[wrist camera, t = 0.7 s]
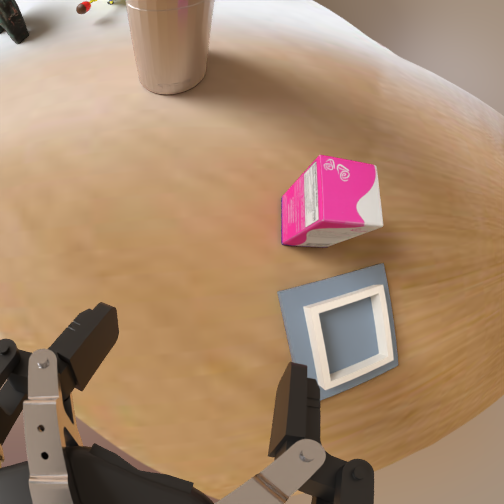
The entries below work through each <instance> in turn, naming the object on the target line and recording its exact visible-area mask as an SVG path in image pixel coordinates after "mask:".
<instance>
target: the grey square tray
mask: <svg viewBox="0 0 504 504" xmlns="http://www.w3.org/2000/svg"><path fill="white" fill-rule="evenodd" d="M277 293H278V297H279V302H280V307H281V311H282V316H283V320H284V325H285V330H286V334H287V339H288V344H289V348H290V353H291V358H292V362H294V363H298V364H303V365H307V378H312V379H316V381H317V384H318V386H319V388H320V401H321V400H323V399H326V398H328V397H331V396H333V395H336V394H338V393H341V392H343V391H345V390H348V389H350V388H352V387H355V386H357V385H359V384H361V383H364V382H366V381H368V380H370V379H372V378H374V377H376V376H378V375H380V374H382V373H384V372H386V371H388V370H390V369H392V368H394V367H396V366H398V355H397V345H396V337H395V328H394V321H393V314H392V307H391V301H390V295H389V289H388V283H387V278H386V273H385V268H384V263H381V264H376V265H373V266H370V267H366V268H363V269H359V270H356V271H352V272H349V273H345V274H342V275H338V276H335V277H331V278H327V279H324V280H320V281H316V282H313V283H309V284H305V285H301V286H297V287H294V288H290V289H286V290H282V291H278V292H277Z"/></svg>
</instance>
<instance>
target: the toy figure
mask: <svg viewBox="0 0 504 504" xmlns="http://www.w3.org/2000/svg"><path fill="white" fill-rule="evenodd" d="M93 1H94V2H95V1H97V0H91V1H90V2H87V1H86V2H82V3H81V4H79V5H78V6H77V9H76V11H77V13H79V14H84V13H86V12H87V11H88V10H89V9H90V7H91V4H90V3H92V2H93ZM107 3H108V4H113V3H114V2H113V0H109V2H107Z"/></svg>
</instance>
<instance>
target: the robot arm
mask: <svg viewBox="0 0 504 504" xmlns="http://www.w3.org/2000/svg"><path fill="white" fill-rule="evenodd" d="M125 1H126V7H127V13H128V20H129V26H130V32H131V38H132V43H133V49H134V54H135V59H136V65H137V69H138V74H139V79H140V82H141V84H142V85H143V86H144V87H145V88H146V89H148V90H149V91H152V92H154V93H158V94H176V93H181V92H184V91H186V90H189V89H191V88H193V87H194V86H196V85H197V84H198V83H199V82H200V81H201V80H202V79H203V77H204V75H205V73H206V64H207V55H208V47H209V38H210V30H211V22H212V15H213V7H214V0H125ZM118 335H119V328H118V319H117V310H116V308H115V307H112V306H110V305H107V304H105V303H102V302H100V303H99V304H98V305H97V306H96V307H95V308H94V309H93V310H91V309H87V310H86V311H84V312H82V313H80V314H79V315H78V316H77V317H76V318H75V319H74V320H73V322H72V323H71V324H70V325H69V326H68V328H66V329H65V330H64V331H63V333H62V334H61V335H60V336H59V337H58V338H57V339H56V341H55V342H54V343H53V344H52V345H51V346H50V347H49V348H48V349H39V350H36V351H35V352H33V353H30V352H26V351H22V350H19V349H18V348H17V346H16V344H15V343H14V341H12V340H10V339H2V340H0V388H1V387H2V385H3V384H4V382H5V381H6V379H7V382H6V383H5V384H4V386H3V387H2V389H1V390H0V504H214V503H213V502H212V501H211V500H210V499H209V498H208V497H207V496H206V495H205V494H204V493H202V492H201V491H199V490H197V489H196V488H194V487H193V483H192V482H189V481H186V480H182V479H179V478H176V477H173V476H170V475H166V474H158V473H151V472H145V471H140V470H137V469H136V468H135V467H133V466H132V465H130V464H129V463H128V462H126V461H125V460H124V459H122V458H121V457H120V456H118V455H117V454H115V453H113V452H111V451H109V450H107V449H104V448H103V447H101V446H99V445H97V444H93V446H92V447H86V446H83V443H82V440H81V437H80V435H79V432H78V429H77V425H76V418H75V412H74V405H73V398H72V393H71V392H72V391H73V389H74V388H77V389H78V390H80V391H83V390H84V388H85V386H86V385H87V383H88V382H89V380H90V379H91V378H92V376H93V375H94V373H95V372H96V370H97V369H98V367H99V366H100V364H101V363H102V361H103V360H104V358H105V357H106V356H107V354H108V353H109V351H110V350H111V348H112V347H113V346H114V344H115V343H116V341H117V338H118ZM22 410H23V417H24V431H25V443H26V451H27V458H28V461H25V462H22V463H18V464H15V465H11V466H7V467H3V468H2V467H1V463H3V462H4V455H3V449H2V445H3V443H4V441H5V439H6V437H7V435H8V434H9V432H10V430H11V428H12V426H13V425H14V423H15V421H16V420H17V418H18V416H19V415H20V413H21V411H22ZM268 456H269V457H275V460H274V462H273V463H271V464H270V465H269V466H268V467H266V468H265V469H264V470H263V471H261V472H260V473H259V474H257V475H255V476H254V477H252V478H251V479H249V480H248V481H247V482H245V483H244V484H243V485H241V486H240V487H238V488H237V489H236V490H234V491H233V492H231V493H230V494H228V495H227V496H225V497H224V498H222V499H221V500H219V501H218V502H216V503H215V504H284V503H285V502H286V501H287V499H288V498H289V497H290V496H291V495H292V494H293V493H294V492H296V491H297V490H299V491H301V492H304V493H306V494H309V495H312V502H311V504H373V503H374V471H373V468H372V466H371V465H370V464H369V463H368V462H367V461H365V460H362V459H353V460H351V461H349V462H346V461H344V460H341V459H339V458H336V457H333V456H331V455H330V454H328V453H327V452H326V451H325V450H324V448H323V447H322V445H321V441H320V388H319V386H318V384H317V381H316V379H312V378H307V365H303V364H298V363H294V362H289V364H288V366H287V368H286V370H285V372H284V374H283V376H282V378H281V380H280V382H279V385H278V388H277V392H276V400H275V408H274V416H273V423H272V431H271V438H270V445H269V452H268Z"/></svg>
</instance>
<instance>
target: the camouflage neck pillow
mask: <svg viewBox="0 0 504 504" xmlns="http://www.w3.org/2000/svg"><path fill="white" fill-rule="evenodd" d="M4 30H6V31H7V33H8V35H9V36H10V37H11V39H12V40H13V41H14V42H15V43H16V44H19V43H21V42H22V41H23V40H24V39H25V38H26V37H27V36H29V33H28V31H27V28H26V25H25V22H24V20H23V17H22V14H21V12H20V10H19V7H18V5H17V3H16V1H15V0H0V33H1V32H3V31H4Z"/></svg>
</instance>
